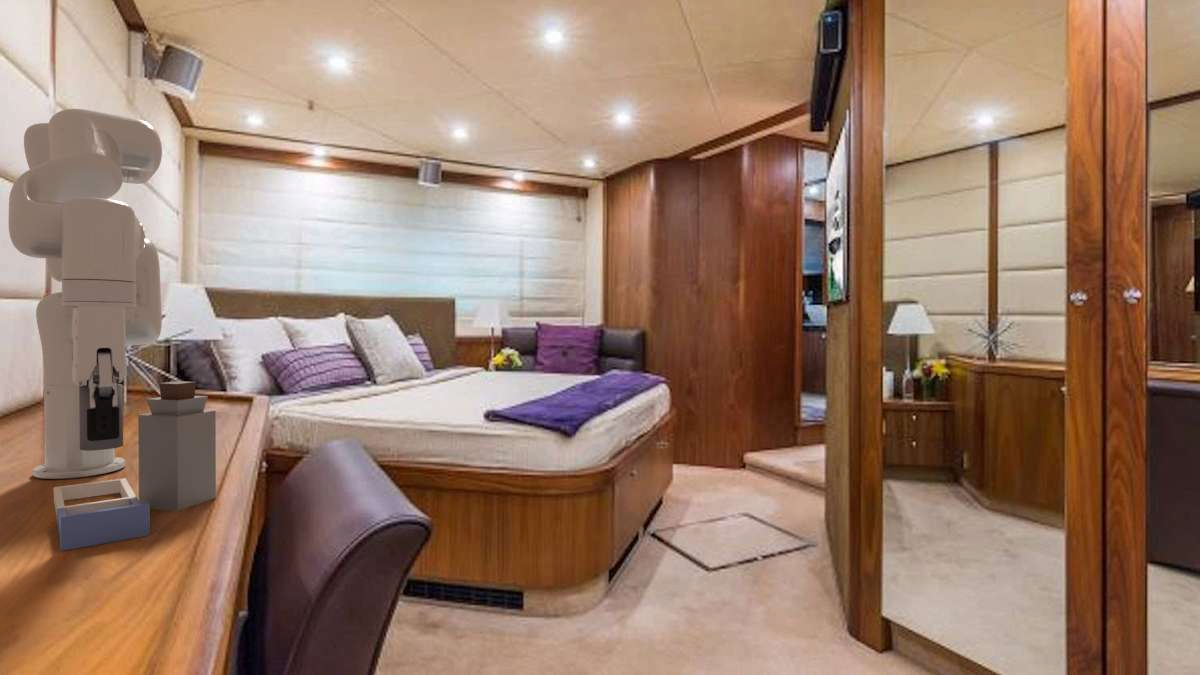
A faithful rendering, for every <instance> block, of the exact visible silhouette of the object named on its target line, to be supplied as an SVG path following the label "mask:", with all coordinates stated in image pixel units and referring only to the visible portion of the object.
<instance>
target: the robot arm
mask: <svg viewBox="0 0 1200 675" xmlns="http://www.w3.org/2000/svg"><path fill="white" fill-rule="evenodd" d="M23 148H24V153H25V159H26V162H27V165H28V168H29V169H27V170H26V171H24V172H23V173H22V174H21V175H20V176H18V178H16V180H15V182H14V183H12V184H13V185H12V187H11V189H10V193H9V197H8V200H9V201H8V232H9V238H10V241H11V242H12V245H13V246H14V248H15V249H16V250H17V251H18V252H19V253H20V254H23V255H25V256H28V257H31V258H35V259H36V258H37V259H46V264H47V270H48V272H49V275H50V276H51V277H52V278H53V280H55V281H56V282H58V283H61V291H59V292H55V293H50V294H48V295H46V296H44V297H42V299H41V300H40V301H39V302H38V304H37V306H36V311H35V312H36V313H35V316H36V317H35V319H36V324H37V329H38V335H39V338H40V345H41V352H42V362H43V363H42V364H43V365H42V366H43V402H44V403H43V406H44V407H43V408H44V410H43V412H44V413H43V414H44V415H43V416H44V464H40V465H38V466H35V467H34V468H33V469H32V476H33V477H35V478H37V479H42V480H45V479H46V480H64V479H75V478H84V477H85V478H87V477H92V476H98V475H103V474H108V473H112V472H116V471H118V470H121V469H123V468H124V467H125V466H126V459H124V458H123V457H119V456H115V455H116V454H115V448H112V449H105V450H91V451H86V450H80V417H79V386H85V385H89V407H90V409H87V439H88V440H89V441H98V440H109V439H117V438H119V436H120V433H119V407H117V406H118V401H117V384H120V383H122V382H123V381H124V380H125V370H126V368H125V367H126V346H145V345H150V344H154V343H155V342H156V341H157V340H158V339H159V338H160V335H161V331H162V319H163V318H162V296H161V295H162V294H161V276H160V275H161V273H160V271H161V270H160V268H161V267H160V261H159V260H160V259H159V253H158V250H157V248H156V245H154V243H153V242H152V240H149V239H148V238H146V235H145V227H144V225H143V223H142V222H141V223H140V221H139V219H138V218H137V216H136V214H135V211H134V209H133V208H132V206H130V205H129V204H128V203H125V202H124V201H123V202H122V201H119V200H116V199H115V200H114V199H111V197H113V196H115V194H117V193H118V192H119V191H120V189H121V187H122V185H123V183H125V184H136V185H139V184H145V183H147V182H148V181H149V180H150V179H151V178H152V177H153V176H154V175H155V173H156V172H157V171H158V170H159V167H160V165H161V162H162V158H163V148H162V141H161V137H160V135H159V133H158V132H157V130H156V129H155V128H154V126H152V125H151V124H150V123H148V122H147V121H144V120H141V119H137V118H134V117H133V118H132V117H127V116H122V115H118V114H117V115H116V114H111V113H106V112H100V111H95V110H90V109H85V108H83V109H81V108H68V109H63V110H60V111H58V112H56V113H54V115H52V116H51V118H50V119H49V122H43V123H41V122H40V123H34V124H32V125H29V127H27V128H26V130H25V131H24V135H23ZM95 389H96V390H95Z"/></svg>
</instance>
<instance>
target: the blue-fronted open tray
mask: <svg viewBox="0 0 1200 675" xmlns="http://www.w3.org/2000/svg"><path fill="white" fill-rule="evenodd" d="M114 494H120V496H121V498H119V497H118V498H114V499H113V498H112V499H106V500H99V501H91V502H85V503H80V504H79V503H78V504H77V503H76V504H71V505H65V502H64V501H71V500H76V499H84V498H85V499H86V498H90V497H97V496H98V497H99V496H106V495H114ZM53 505H54V510H55V517H56V518H55V519H56V525H57V533H58V538H59V539H58V540H59V546H60V552H64V551H69V550H75V549H81V548H85V547H86V548H87V547H91V546H97V545H102V544H108V543H114V542H119V541H125V540H129V539H130V540H131V539H134V538H135V539H136V538H140V537H142V538H143V537H148V536H150V535H151V534H150V532H151V531H150V530H151V529H150V528H151V527H150V521H151V519H150V518H151V514H150V512H151V511H150V510H151V508H150V504H149V503H143V504H140V502H139V498H138V496H136V494H135V492H134V490H133V488H132V486H131V485H130V484H129V482H128V480H127V478H126V477H124V478H117V479H109V480H101V481H93V482H86V483H84V482H83V483H77V484H70V485H63V486H61V485H60V486H54V487H53Z"/></svg>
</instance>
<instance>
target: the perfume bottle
mask: <svg viewBox="0 0 1200 675" xmlns="http://www.w3.org/2000/svg"><path fill="white" fill-rule="evenodd" d="M158 386H159V392H160V393H159V394H160V396H159V397H153V398H152V397H151V398H146V401H147V404H148V405H147V406H148V407H149V410H150V412H149V413H143V414H138V415H137V416H138V420H137V421H138V500H139V502H140V504H143V503H149V504H150V509H152V510H153V509H154V510H164V511H165V510H166V511H173V512H174V511H175V512H179V511H181V510H185V509H187V508H191V507H193V506H196V505H200V504H203V503H205V502H208V501H211V500H214V499H216V498H217V492H216V490H217V487H216V486H217V485H216V484H217V481H216V480H217V479H216V478H217V474H216V473H217V471H216V470H217V468H216V466H217V465H216V464H217V463H216V461H217V460H216V459H217V458H216V457H217V456H216V455H217V454H216V453H217V452H216V450H217V448H216V444H217V442H216V441H217V439H216V438H217V437H216V436H217V434H216V429H217V427H216V425H217V424H216V419H217V418H216V417H217V416H216V411H217V410H211V409H205V407H206V404H207V401H208V398H209V396H208V395H196V388H197V381H184V380H183V381H181V380H176V381H165V382H159V383H158Z"/></svg>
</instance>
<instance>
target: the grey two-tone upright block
mask: <svg viewBox="0 0 1200 675" xmlns="http://www.w3.org/2000/svg"><path fill="white" fill-rule="evenodd" d="M95 390H96V389H95ZM123 390H124V389H123V384H120V383H117V401H118V406H117V407H119V433H120V436H119V438H117V439H109V440H98V441H89V440H88V439H87V409H90V407H89V385H85V386H79V417H80V450H86V451H91V450H105V449H112V448H114V449H117V448H121V447H123V446H124V408H123V407H124V406H123V402H124V401H123V397H124V396H123V395H124V394H123V393H124V391H123Z"/></svg>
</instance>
